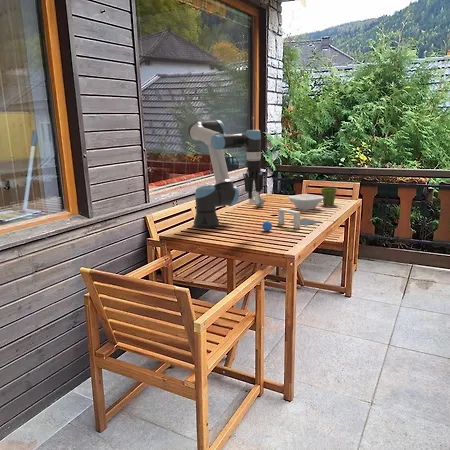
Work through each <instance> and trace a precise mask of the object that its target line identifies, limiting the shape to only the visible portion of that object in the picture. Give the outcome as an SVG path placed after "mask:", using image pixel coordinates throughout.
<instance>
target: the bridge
mask: <svg viewBox="0 0 450 450" xmlns="http://www.w3.org/2000/svg"><path fill="white" fill-rule="evenodd" d="M277 213H278V216H277V217H278V219H277V221H278V223H277V224H278V225H284V224H285V213H286V214H291V215H293V221H294V223H293V229H300V228H301V224H300V219H301V211H297V210H293V209H288V208H282V207H281V208H278V211H277Z"/></svg>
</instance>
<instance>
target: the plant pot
mask: <svg viewBox="0 0 450 450" xmlns="http://www.w3.org/2000/svg"><path fill="white" fill-rule="evenodd" d="M320 191H321V196H322V197H324V198H323V200H322V201H323V205H325V204H327V205H326V206H333V205H335V201H336V200H335V199H336V194H337V191H338V188H337V187H322V188H320ZM332 204H333V205H332Z"/></svg>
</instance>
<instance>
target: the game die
mask: <svg viewBox="0 0 450 450" xmlns="http://www.w3.org/2000/svg"><path fill="white" fill-rule="evenodd" d="M265 202H266V200H265V198H264V195H261V196H260V197H259V204H255V200H254V204H255V205H254V206H255V207H256V208H258V207H264V204H265Z"/></svg>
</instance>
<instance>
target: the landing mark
mask: <svg viewBox="0 0 450 450" xmlns="http://www.w3.org/2000/svg"><path fill="white" fill-rule="evenodd" d="M289 223H293V224H294V220H291V221H289ZM318 223H321V221H319V220H315V219H309V218H306V217H304V218H300V226H302V225H303V226H311V225H314V224H318Z"/></svg>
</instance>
